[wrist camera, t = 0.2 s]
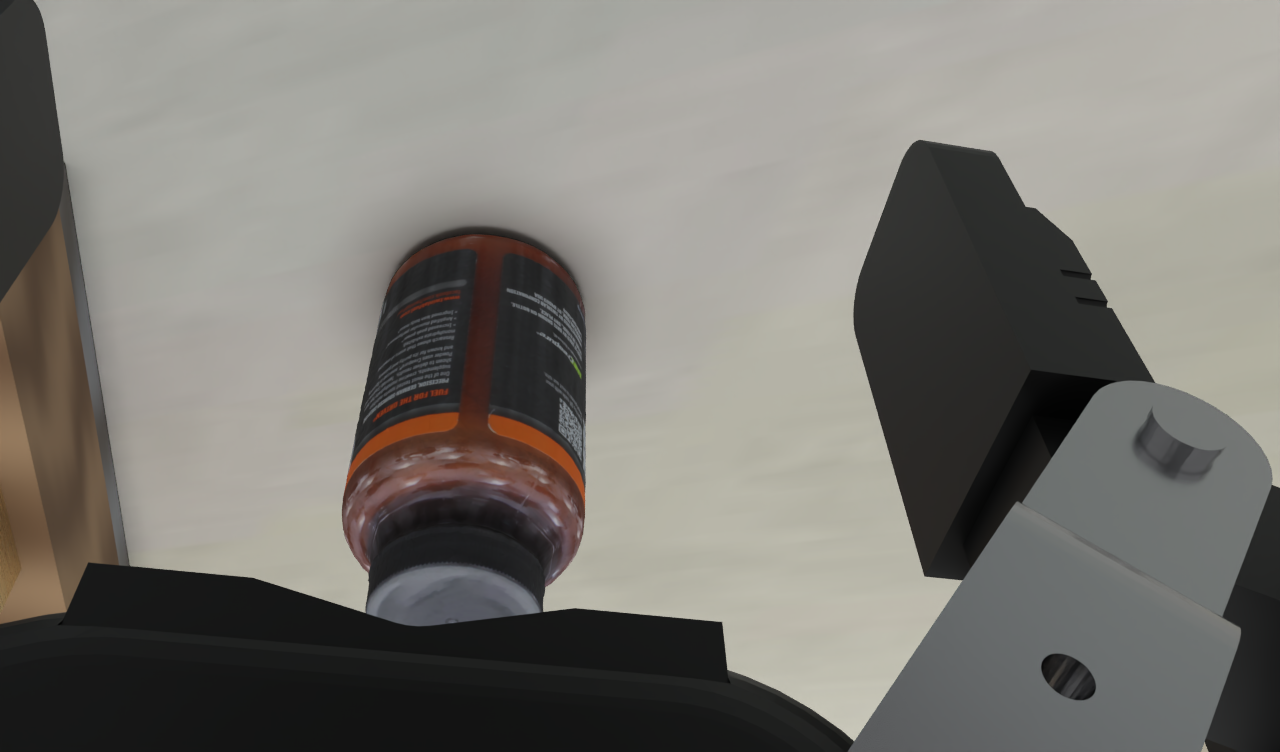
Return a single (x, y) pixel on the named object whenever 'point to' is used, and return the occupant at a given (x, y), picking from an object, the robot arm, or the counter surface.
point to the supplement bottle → (470, 435)
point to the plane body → (54, 430)
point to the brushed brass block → (7, 555)
